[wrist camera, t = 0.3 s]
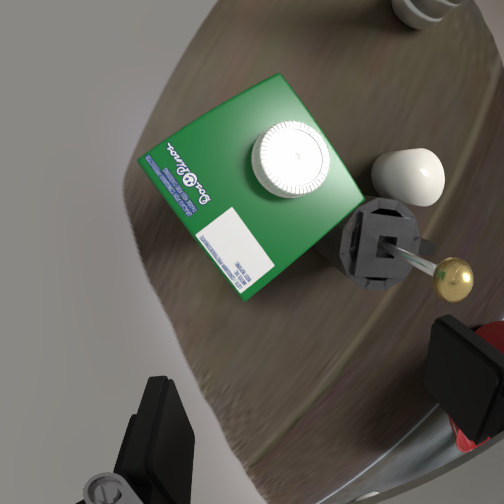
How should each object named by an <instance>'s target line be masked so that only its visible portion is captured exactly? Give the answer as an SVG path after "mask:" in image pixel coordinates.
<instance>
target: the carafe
mask: <svg viewBox="0 0 504 504" xmlns="http://www.w3.org/2000/svg"><path fill="white" fill-rule="evenodd" d="M363 196H364V198H365V200H364V201H363V202H362V203H361V204H360V205H359V206H358V207H357V208H356V209H354V210H353V211H352V212H351V213H350V214H349V215H348V216H346V217H345V218H344V219H343V220H342V221H341V222H340V223H338V224H337V225H336V226H335V227H334V228H333V229H331V230H330V231H329V232H328V233H327V234H326V235H325V236H323V237H322V238H321V239H320V240H319V241H318V242H316V243H315V244H314V246H315V248H316V250H317V252H319V253H320V254H321V255H322V256H323V257H325V258H326V259H327V260H328V261H329V262H331V263H332V264H333V265H334V266H335V267H336V268H338V269H339V270H340V271H341V272H342V273H343V274H345V275H346V276H347V277H348V278H350V279H351V280H352V281H354V282H355V283H356V284H358V285H359V286H361V287H362V288H363V289H365V290H386V289H388V288H390V287H392V286H393V285H395V284H397V283H399V282H400V281H402V280H404V279H405V278H406V276H407V274H408V273H409V271H410V270H411V268H412V267H413V266H412V265H410V264H408V263H407V262H405V261H403V260H401V259H399V258H397V257H395V256H393V255H391V254H390V256H389V257H385V256H376V252H377V246H378V239H379V235H380V236H390V237H394V238H393V244H392V245H394V246H396V247H398V248H401V249H403V250H405V251H407V252H409V253H412V254H414V255H416V256H418V254H421V255H434V250H435V244H436V243H433V242H430V241H428V240H425V239H422V238H421V236H420V232H419V228H418V225H417V221H416V218H415V215H414V214H413V213H412V212H411V211H410V210H409V209H408V208H407V207H406V206H405V205H403V204H402V203H401V202H400V201H398V200H392V199H386V198H380V197H373V196H367V195H363ZM371 212H374V213H371ZM375 213H378V214H375ZM358 223H359V226H358V234H357V241H356V248H355V255H354V261H353V260H352V259H351V256H350V254H349V251H350V244H351V237H352V232H353V231H354V229H355V228H356V226H357V225H358Z"/></svg>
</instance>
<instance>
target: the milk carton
mask: <svg viewBox="0 0 504 504" xmlns="http://www.w3.org/2000/svg"><path fill="white" fill-rule="evenodd" d="M137 162H138V164H139V165H140V166H141V168H142V169H143V170H144V172H145V173H146V175H147V176H148V177H149V179H150V180H151V182H152V183H153V184H154V186H155V187H156V188H157V190H158V191H159V193H160V194H161V195H162V197H163V198H164V199H165V201H166V202H167V203H168V205H169V206H170V207H171V209H172V210H173V211H174V213H175V214H176V215H177V217H178V218H179V219H180V221H181V222H182V223H183V225H184V226H185V227H186V229H187V230H188V231H189V233H190V234H191V235H192V237H193V238H194V239H195V241H196V242H197V243H198V245H199V246H200V247H201V249H202V250H203V251H204V252H205V254H206V255H207V256H208V258H209V259H210V260H211V262H212V263H213V264H214V265H215V267H216V268H217V269H218V271H219V272H220V273H221V274H222V276H223V277H224V278H225V280H226V281H227V282H228V283H229V285H230V286H231V287H232V288H233V290H234V291H235V292H236V293H237V295H238V296H239V297H240V299H241V300H242V301H243V302H246V301H247V300H248V299H250V298H251V297H252V296H253V295H254V294H256V293H257V292H258V291H259V290H260V289H262V288H263V287H264V286H265V285H267V284H268V283H269V282H270V281H271V280H273V279H274V278H275V277H276V276H277V275H279V274H280V273H281V272H282V271H283V270H285V269H286V268H287V267H288V266H289V265H290V264H292V263H293V262H294V261H295V260H296V259H298V258H299V257H300V256H301V255H302V254H304V253H305V252H306V251H307V250H308V249H309V248H311V247H312V246H313V245H314V244H315V243H316V242H318V241H319V240H320V239H321V238H322V237H323V236H325V235H326V234H327V233H328V232H329V231H330V230H331V229H333V228H334V227H335V226H336V225H337V224H338V223H340V222H341V221H342V220H343V219H344V218H345V217H346V216H348V215H349V214H350V213H351V212H352V211H353V210H354V209H356V208H357V207H358V206H359V205H360V204H361V203H362V202H363V201H364V200H365V198H364V196H363V194H362V193H361V191H360V189H359V188H358V186H357V184H356V182H355V181H354V179H353V178H352V176H351V174H350V173H349V171H348V169H347V168H346V166H345V165H344V163H343V161H342V160H341V158H340V157H339V155H338V154H337V152H336V150H335V149H334V147H333V146H332V144H331V143H330V141H329V140H328V138H327V137H326V135H325V134H324V132H323V131H322V129H321V128H320V127H319V125H318V124H317V122H316V121H315V119H314V118H313V117H312V115H311V114H310V112H309V111H308V110H307V108H306V107H305V105H304V104H303V103H302V101H301V100H300V99H299V97H298V96H297V94H296V93H295V92H294V90H293V89H292V88H291V87H290V85H289V84H288V83H287V81H286V80H285V79H284V77H283V76H282V75H281V74H280V73H277V74H275V75H273V76H271V77H269V78H267V79H265V80H263V81H261V82H259V83H258V84H256V85H254V86H252V87H250V88H248V89H246V90H245V91H243V92H241V93H239V94H237V95H236V96H234V97H232V98H230V99H229V100H227V101H225V102H223V103H222V104H220V105H218V106H217V107H215V108H213V109H212V110H210V111H208V112H207V113H205V114H203V115H202V116H200V117H199V118H197V119H195V120H194V121H192V122H191V123H189V124H188V125H186V126H184V127H183V128H181V129H180V130H178V131H177V132H175V133H174V134H172V135H171V136H169V137H168V138H166V139H165V140H164V141H162V142H161V143H159V144H158V145H156V146H155V147H153V148H152V149H151V150H149V151H148V152H146V153H145V154H144V155H142V156H141V157H140V158H138V159H137Z"/></svg>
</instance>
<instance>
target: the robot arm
mask: <svg viewBox="0 0 504 504" xmlns="http://www.w3.org/2000/svg"><path fill="white" fill-rule="evenodd" d="M424 385H425V387H426V389H427V390H428V391H429V392H430V394H431V395H432V396H433V397H434V398H435V399H436V401H437V402H438V403H439V404H440V406H441V407H442V408H443V409H444V410H445V412H446V413H447V414H448V415H449V416H450V418H451V419H452V420H453V421H454V423H455V424H456V425H457V426H458V428H459V429H460V430H461V431H462V433H463V434H464V435H465V436H466V438H467V439H468V440H470V441H473V442H474V443H475V444H476V446H477V445H479V444H481V443H482V442H484V441H485V440H487V439H488V437H490V438H491V439H489V440H488V441H486V442H485V443H483V444H482V445H480V446H478V447H477V448H475V449H473V450H472V451H470V452H468V453H466V454H465V455H463V456H461V457H459V458H457V459H456V460H454V461H452V462H450V463H448V464H446V465H444V466H442V467H440V468H438V469H436V470H434V471H432V472H430V473H428V474H426V475H423V476H421V477H419V478H417V479H414V480H412V481H410V482H407V483H405V484H403V485H400V486H398V487H395V488H393V489H390V490H387V491H385V492H382V493H379V494H376V495H374V496H371V497H368V498H365V499H362V500H358V501H355V502H352V503H348V504H504V354H502V353H501V352H500V351H499V350H497V349H496V348H495V347H493V346H492V345H491V344H489V343H488V342H487V341H486V340H484V339H483V338H482V337H480V336H479V335H478V334H476V333H475V332H474V331H472V330H471V329H470V328H468V327H467V326H465V325H464V324H463V323H461V322H460V321H459V320H457V319H456V318H455V317H453V316H452V315H450V314H449V315H445V316H442V317H439V318H437V319H436V320H435V322H434V324H433V325H432V328H431V336H430V343H429V350H428V357H427V363H426V369H425V374H424ZM194 445H195V436H194V432H193V429H192V427H191V424H190V422H189V420H188V417H187V415H186V412H185V410H184V407H183V405H182V402H181V399H180V397H179V394H178V391H177V389H176V386H175V383H174V381H173V380H172V379H169V380H168V378H167V376H155V377H149V379H148V382H147V385H146V388H145V390H144V394H143V397H142V400H141V403H140V406H139V409H138V412H137V414H133V415H132V416H131V418H130V420H129V423H128V427H127V430H126V433H125V436H124V439H123V442H122V445H121V448H120V451H119V455H118V458H117V461H116V464H115V468H114V471H113V473H110V472H108V473H100V474H97V475H95V476H93V477H92V478H90V479H89V480H88V482H87V483H86V484H85V486H84V488H83V497H84V499H83V500H82V501H80V502H78V503H76V504H190V500H191V483H192V471H193V457H194Z"/></svg>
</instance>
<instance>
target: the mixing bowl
mask: <svg viewBox="0 0 504 504" xmlns="http://www.w3.org/2000/svg"><path fill="white" fill-rule="evenodd" d="M475 333H476V334H478V335H479V336H480V337H482V338H483V339H484V340H486V341H487V342H488V343H489V344H491V345H492V346H493V347H495V348H496V349H497V350H499V351H500V352H501V353H502V354H504V321H495V322H491V323H489V324H486V325H484V326H482V327H480V328H479V329H477V330H476V331H475ZM448 417H449V420H450V424H451V427H452V430H453V433H454V436H455V439H456V446H457V448H458V449H459V450H460V451H461V452H466V453H467V452H470V451H472V450H473V449H475V448H477V447H478V446H480V445H482V444H483V443H485V442H486V441H488V440H489V439H491V438H490V437H488V439H487V440H485V441H484V442H482V443H481V444H479V445H477V446H476V444H475V443H474V442H473V441H470V440H468V439H467V438H466V436H465V435H464V434H463V433H462V431H461V430H460V429H459V428H458V426H457V425H456V424H455V423H454V421H453V420H452V419H451V418H450V416H449V415H448Z"/></svg>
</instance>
